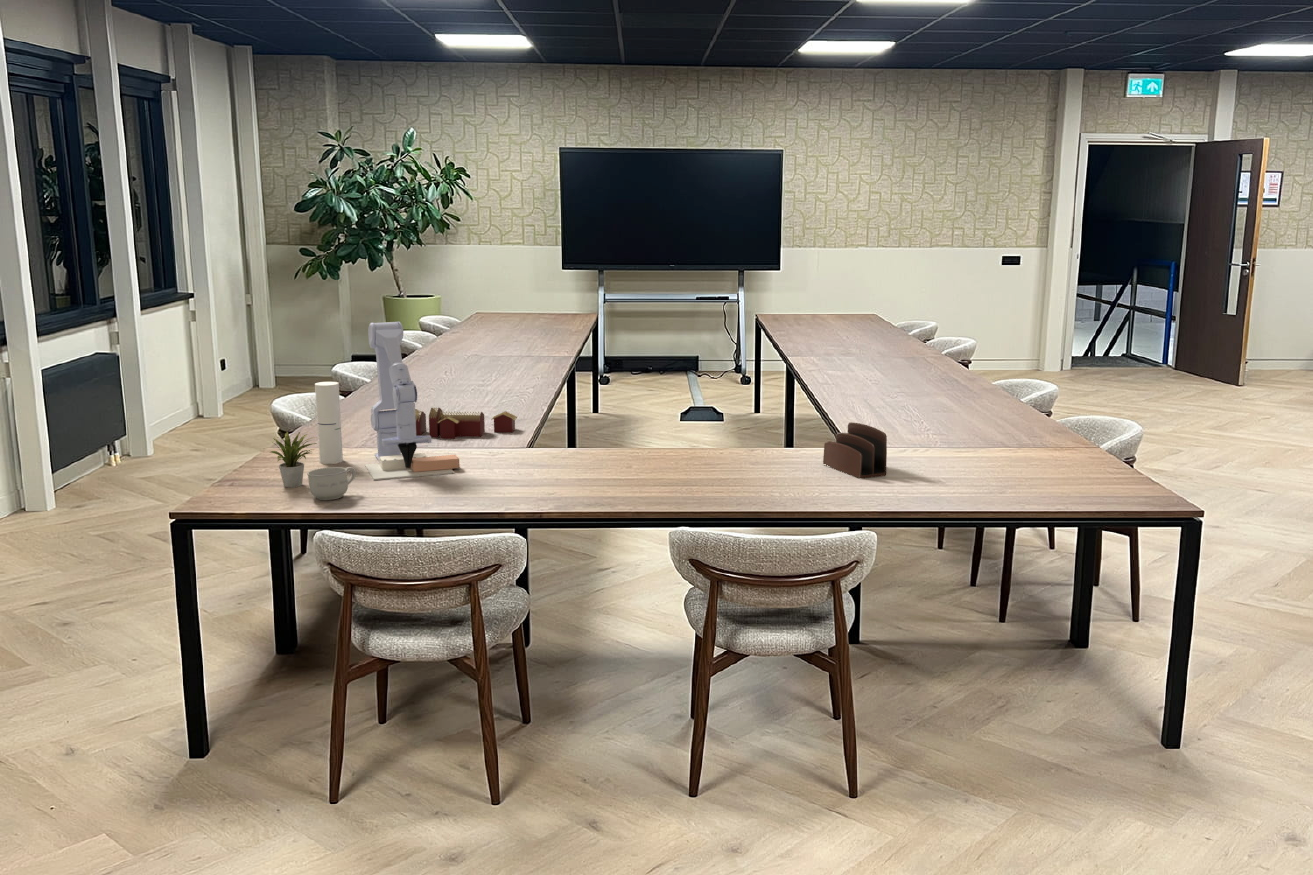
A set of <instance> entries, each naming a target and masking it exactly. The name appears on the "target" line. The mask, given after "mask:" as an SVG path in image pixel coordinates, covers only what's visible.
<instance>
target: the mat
mask: <svg viewBox="0 0 1313 875" xmlns="http://www.w3.org/2000/svg"><path fill="white" fill-rule="evenodd" d="M364 467H365V469H366V470H367V472H368V473H369V475H370V477H371V479H372V480H373V481H382V480H395V479H405V478H406V479H407V478H417V477H427V476H438V475H439V476H441V475H450V474H451V475H452V473H453V474H455V471H454V470H453V469H442V470H431V471H419V472H414V471H413V470H412V469H411V468H405V469H393V470H382V469H381V467H380V464H379V463H369V464H367V463H366V464H364Z"/></svg>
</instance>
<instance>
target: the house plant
mask: <svg viewBox="0 0 1313 875" xmlns="http://www.w3.org/2000/svg"><path fill="white" fill-rule="evenodd" d="M300 434H301V431H299V432H298V433H297V434H296V436H295V437H294V438H293V441H292V442H291V437H290V435H289V432H288V430H286V432H285V433H284V438H282V437H279V436H278V437H276V438H279V439H281V440H282V441H283V442H284V444H283V443H282V442H280V441H279V440H277V439H276V438H273V440H274V441H271V442H272V444H274V445H275V446H276V447H277V449H278V450H280V451H281V453H280V452H278V451H276V450H272V451H269V453H271V454H275V455H278V456H277V462H279V461H281V460H282V461H283V462H282V463H280V464H278V469H279V473H280V475H281V480H282V484H283V485H282V486H283V487H284V486H285V488H289V489H291V488H298V487H301V486H303V479H304V471H305V469H304V468H305V463H304V462H303V461H302V462H301V461H300V460H301V459H302V458H304V459H305V460H307V458H306V455H309V454H311V455H312V454H314V453H313V451H314V450H315V449H305V450H303V449H304V448H308V447H309V446H312V445H317V444H318V442H317V443H316V442H314V443H313V442H311V443H309V440H311V439H312V437H310V438H307V439H305V438H306V437H307V435H308V433H306V434H303V435H302V436H301V437H300V439H299V436H300ZM315 438H316V436H315V437H314V436H313V439H315ZM298 439H299V440H298ZM304 439H305V440H304ZM301 450H302V451H301ZM312 450H313V451H312Z"/></svg>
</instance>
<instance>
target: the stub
mask: <svg viewBox="0 0 1313 875" xmlns="http://www.w3.org/2000/svg"><path fill="white" fill-rule="evenodd" d="M460 465H461V464H460V458H459V456H457V455H456V454H446V455H435V456H428V457H420V458H412V462H411V469H412V470H413V471H414V472H419V471H431V470H442V469H452V470H453V469H460V467H461V466H460Z"/></svg>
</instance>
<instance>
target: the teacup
mask: <svg viewBox="0 0 1313 875" xmlns="http://www.w3.org/2000/svg"><path fill="white" fill-rule="evenodd" d="M349 471H350V472H351V474H350V477H349V478H348V472H349ZM356 475H357V473H356V470H355V468H354V467H351V466H348V467H342V466H332V467H331V466H330V467H329V466H328V467H320V468H315V469H313V470H309V471H308V472H307V480H308V487H309V492H310V494H311V496H313V497H315V498H316V499H317V500H319V501H332V500H337V499H339V498H340V499H341V498H342V497H343V496H344V495H345V494H346V492H347V491H348V490H349V489H348V488H349V485H350V484H351V483H352V482H353V481H354V479H355V477H356Z"/></svg>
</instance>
